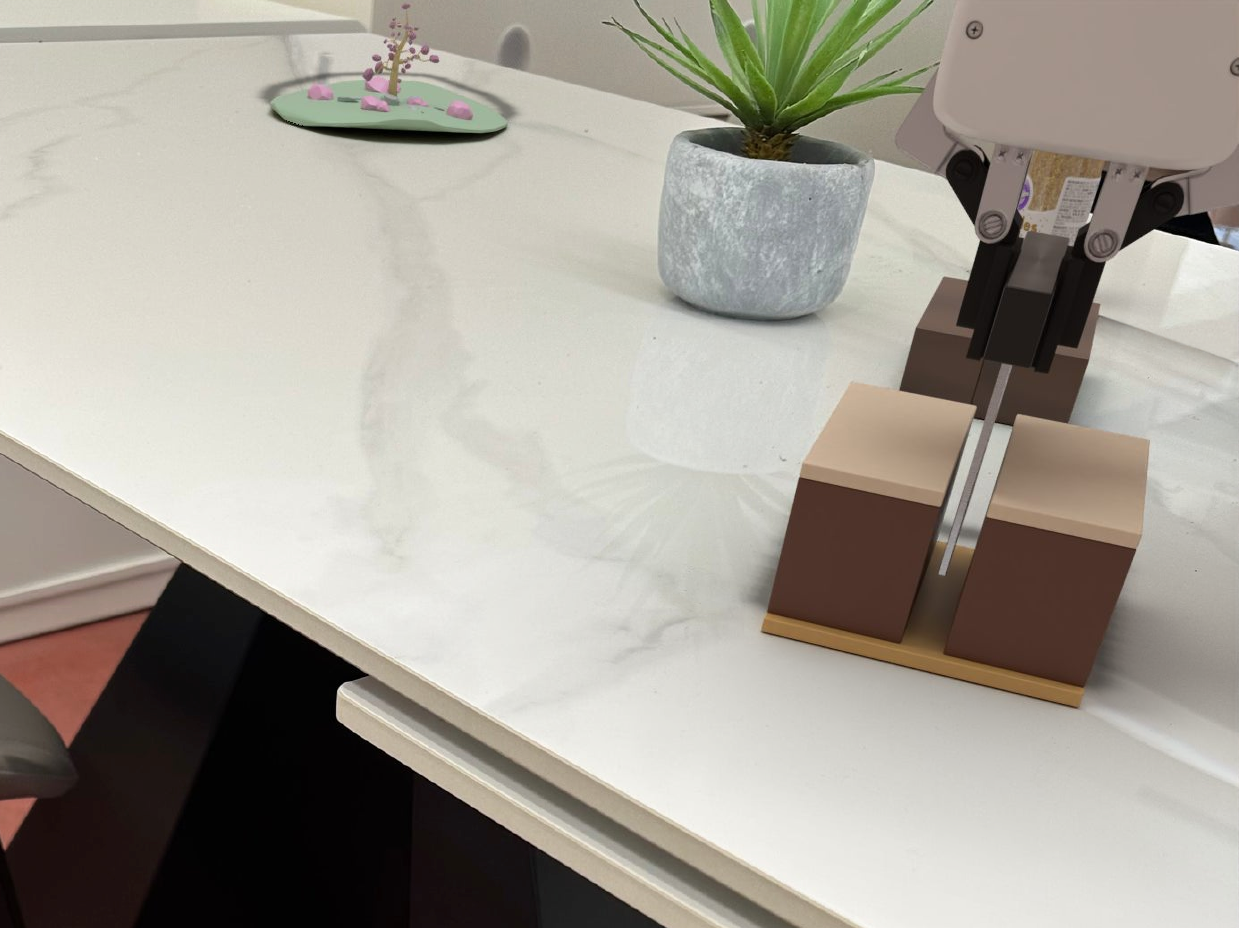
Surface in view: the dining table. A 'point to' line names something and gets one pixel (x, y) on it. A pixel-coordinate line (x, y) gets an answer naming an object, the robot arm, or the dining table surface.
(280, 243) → the dining table surface
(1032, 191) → the sprinkles bottle
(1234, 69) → the robot arm
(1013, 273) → the slim kitchen knife
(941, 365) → the knife block
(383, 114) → the plant
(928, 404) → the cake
